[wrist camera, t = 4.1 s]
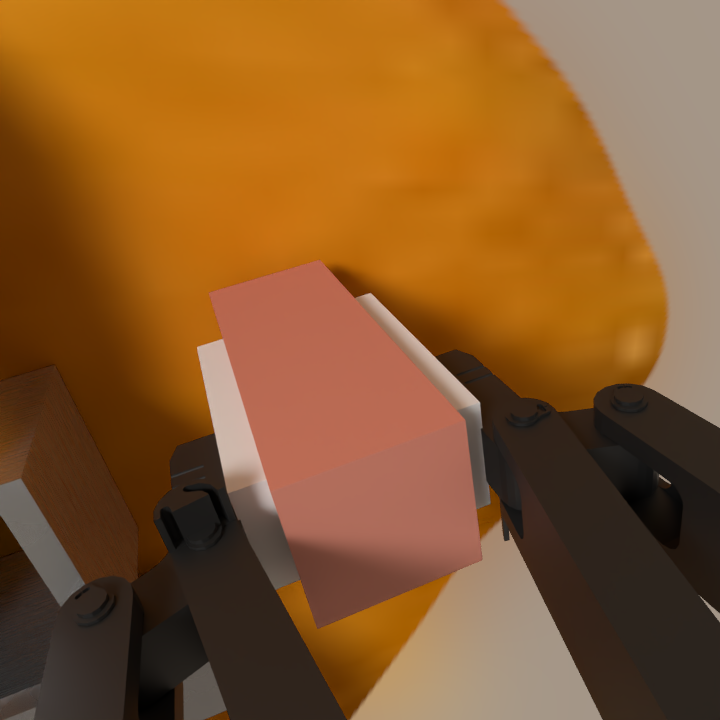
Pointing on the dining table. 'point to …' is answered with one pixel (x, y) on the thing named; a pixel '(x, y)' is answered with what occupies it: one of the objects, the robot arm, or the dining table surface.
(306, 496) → the wedge pin
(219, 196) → the dining table surface
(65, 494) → the bracket
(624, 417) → the robot arm
